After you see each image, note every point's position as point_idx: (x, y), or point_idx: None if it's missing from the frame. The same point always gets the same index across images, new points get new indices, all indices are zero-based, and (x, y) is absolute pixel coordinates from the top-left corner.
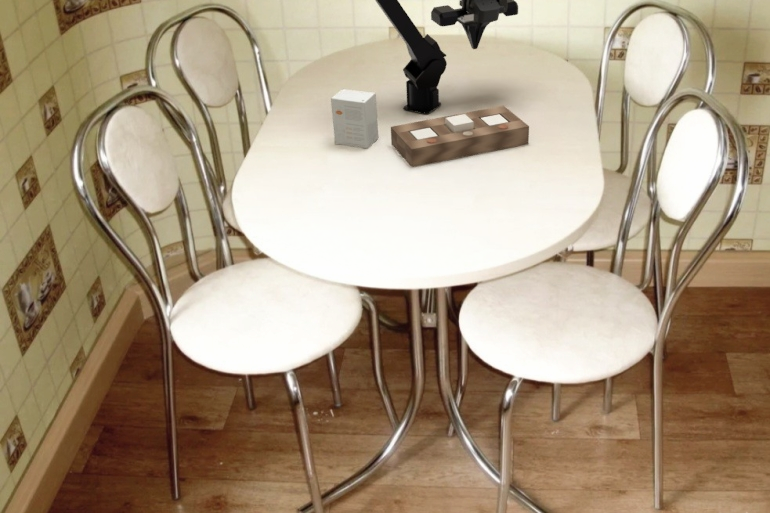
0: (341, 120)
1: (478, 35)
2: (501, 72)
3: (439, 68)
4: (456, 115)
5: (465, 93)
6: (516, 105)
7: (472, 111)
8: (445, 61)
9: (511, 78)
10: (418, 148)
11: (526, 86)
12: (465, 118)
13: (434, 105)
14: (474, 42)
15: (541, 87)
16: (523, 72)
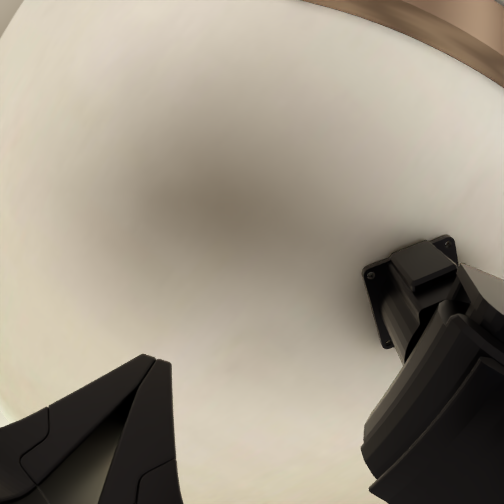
0: None
1: (84, 426)
2: (57, 332)
3: (501, 302)
4: (497, 43)
5: (221, 294)
6: (143, 89)
7: (434, 15)
8: (474, 329)
9: (49, 285)
10: None
11: (40, 209)
12: None
13: (424, 246)
14: (150, 398)
15: (16, 176)
16: (16, 292)
